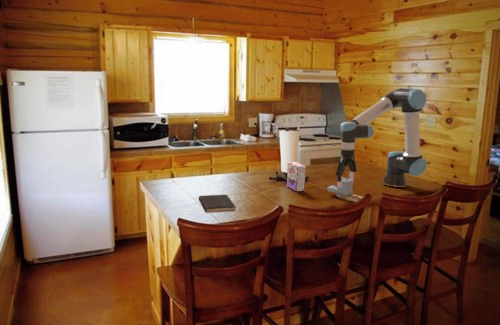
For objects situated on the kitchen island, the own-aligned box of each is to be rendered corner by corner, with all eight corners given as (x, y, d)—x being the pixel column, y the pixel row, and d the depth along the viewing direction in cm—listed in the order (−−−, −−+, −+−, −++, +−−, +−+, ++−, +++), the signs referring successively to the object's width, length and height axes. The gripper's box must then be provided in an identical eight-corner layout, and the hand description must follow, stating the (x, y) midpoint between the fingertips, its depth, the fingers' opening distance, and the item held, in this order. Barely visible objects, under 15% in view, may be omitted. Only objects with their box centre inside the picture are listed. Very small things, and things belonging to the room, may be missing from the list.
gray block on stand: (341, 195, 242) (343, 177, 239) (352, 197, 237) (353, 179, 235) (335, 197, 236) (337, 179, 234) (346, 200, 232) (347, 181, 230)
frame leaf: (353, 197, 238) (353, 193, 237) (363, 200, 233) (364, 196, 233) (345, 200, 231) (345, 196, 231) (356, 203, 227) (357, 199, 226)
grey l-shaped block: (332, 188, 245) (332, 175, 244) (352, 193, 236) (353, 179, 235) (326, 190, 240) (327, 177, 239) (346, 195, 232) (347, 181, 230)
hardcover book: (226, 198, 232) (226, 194, 231) (235, 210, 210) (235, 206, 210) (198, 199, 227) (198, 195, 227) (205, 212, 206) (205, 208, 205)
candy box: (286, 186, 258) (287, 161, 254) (294, 186, 260) (295, 161, 257) (296, 192, 245) (297, 166, 242) (304, 192, 247) (306, 165, 244)
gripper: (352, 145, 242) (349, 179, 247) (330, 150, 224) (328, 187, 229) (363, 147, 237) (361, 181, 242) (342, 152, 219) (340, 190, 224)
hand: (345, 184), depth 235 cm, fingers open, 13 cm apart
